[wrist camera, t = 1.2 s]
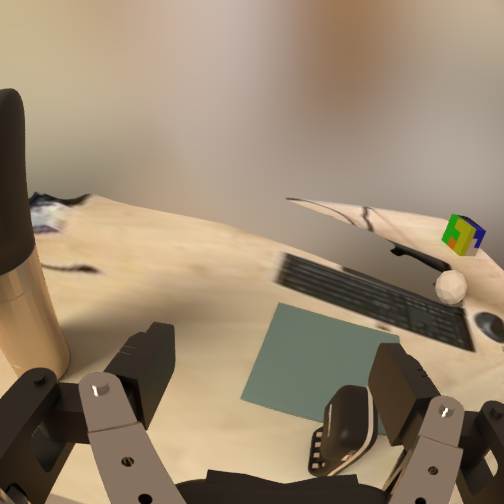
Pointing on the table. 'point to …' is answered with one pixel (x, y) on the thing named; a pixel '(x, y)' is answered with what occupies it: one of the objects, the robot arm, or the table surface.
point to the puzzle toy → (463, 235)
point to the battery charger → (344, 431)
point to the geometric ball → (450, 287)
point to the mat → (311, 362)
